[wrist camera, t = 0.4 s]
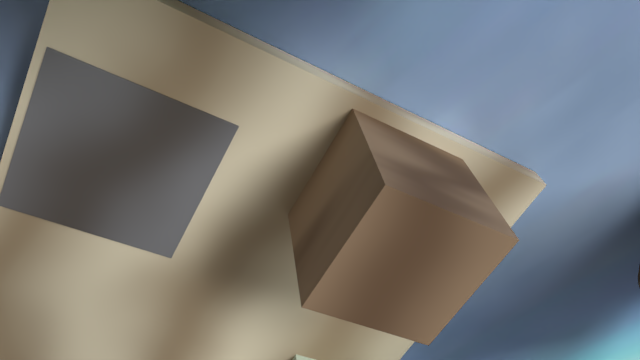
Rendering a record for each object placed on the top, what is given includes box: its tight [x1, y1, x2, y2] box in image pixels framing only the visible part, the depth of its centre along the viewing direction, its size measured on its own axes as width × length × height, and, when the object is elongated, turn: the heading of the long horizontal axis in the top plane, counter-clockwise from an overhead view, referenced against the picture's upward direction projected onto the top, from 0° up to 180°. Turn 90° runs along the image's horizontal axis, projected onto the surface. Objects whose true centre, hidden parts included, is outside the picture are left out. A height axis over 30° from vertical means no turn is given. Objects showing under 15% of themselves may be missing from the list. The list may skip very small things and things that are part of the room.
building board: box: [0, 0, 546, 360], centre depth 23 cm, size 19×18×1 cm
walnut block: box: [288, 108, 519, 346], centre depth 19 cm, size 5×5×5 cm
